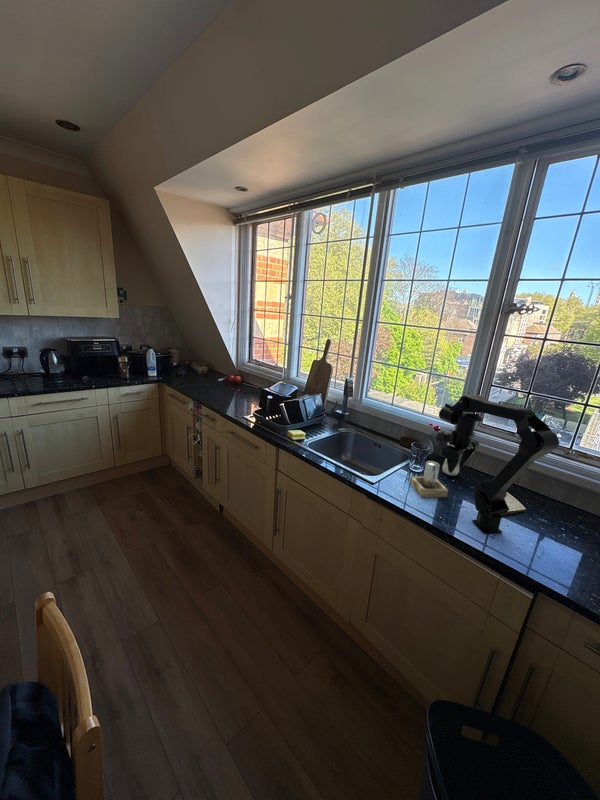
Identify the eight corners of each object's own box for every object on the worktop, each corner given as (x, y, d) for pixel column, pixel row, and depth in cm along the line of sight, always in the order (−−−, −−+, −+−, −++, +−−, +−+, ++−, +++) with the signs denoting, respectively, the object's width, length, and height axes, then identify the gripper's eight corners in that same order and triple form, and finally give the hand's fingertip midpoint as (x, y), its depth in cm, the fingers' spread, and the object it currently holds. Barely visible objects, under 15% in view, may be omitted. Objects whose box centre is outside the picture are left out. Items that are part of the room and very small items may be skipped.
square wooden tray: (446, 497, 124) (448, 490, 123) (421, 497, 123) (422, 490, 122) (433, 483, 134) (434, 476, 133) (409, 482, 132) (410, 476, 132)
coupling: (438, 493, 125) (444, 468, 122) (425, 493, 124) (430, 467, 121) (430, 484, 132) (435, 459, 129) (417, 484, 131) (422, 459, 128)
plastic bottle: (459, 478, 139) (469, 435, 134) (443, 476, 140) (452, 433, 135) (455, 471, 145) (464, 430, 140) (439, 469, 146) (448, 428, 141)
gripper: (453, 418, 126) (445, 454, 130) (430, 427, 114) (422, 467, 118) (483, 427, 118) (474, 465, 122) (462, 437, 106) (452, 480, 110)
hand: (455, 469), depth 119 cm, fingers open, 9 cm apart
